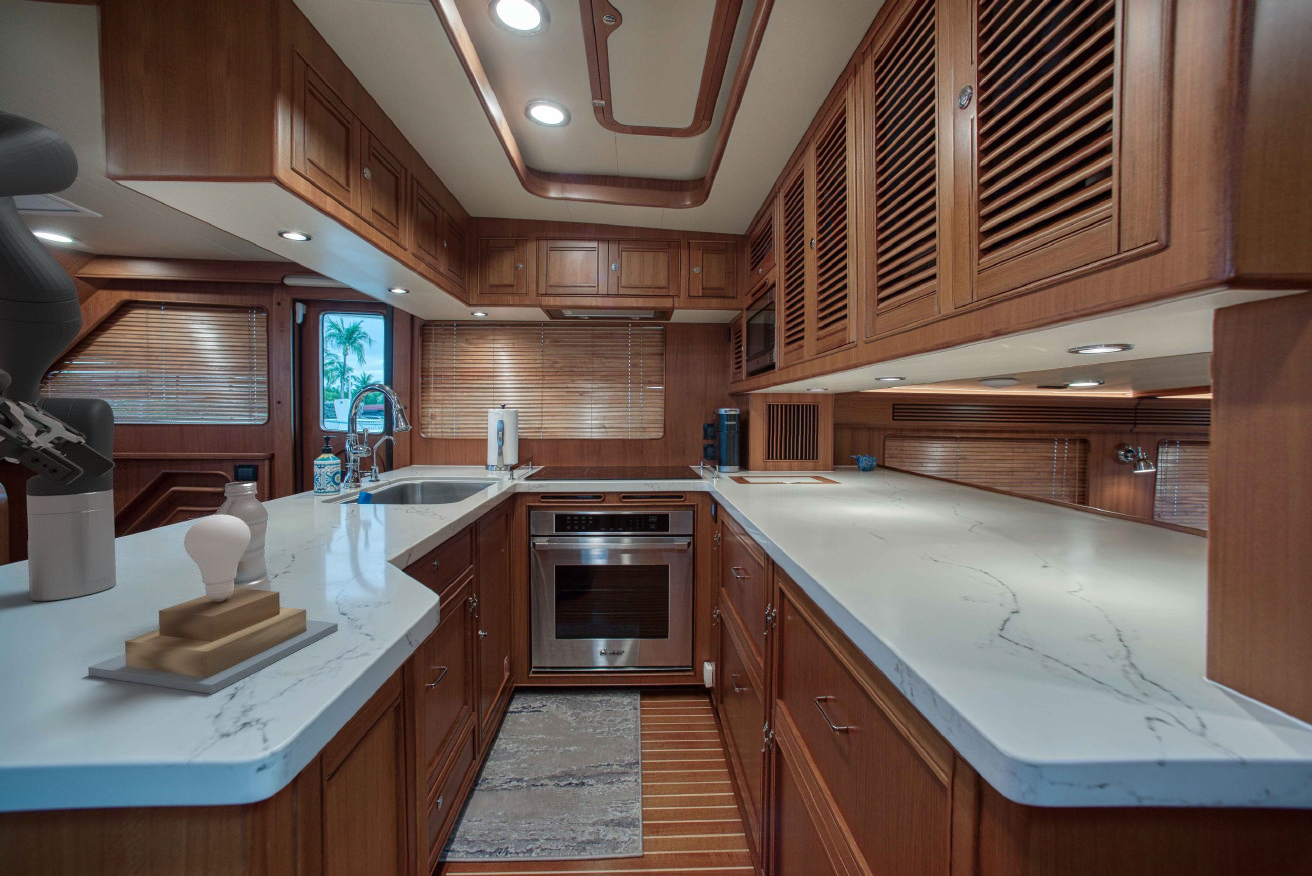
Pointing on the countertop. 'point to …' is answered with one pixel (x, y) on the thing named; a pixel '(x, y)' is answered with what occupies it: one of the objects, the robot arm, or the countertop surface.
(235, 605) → the block tower
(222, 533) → the lightbulb
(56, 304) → the robot arm
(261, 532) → the plastic bottle
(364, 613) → the countertop surface
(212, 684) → the slate board
